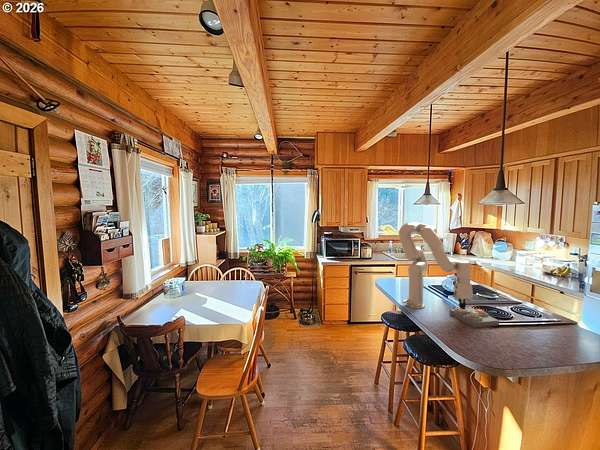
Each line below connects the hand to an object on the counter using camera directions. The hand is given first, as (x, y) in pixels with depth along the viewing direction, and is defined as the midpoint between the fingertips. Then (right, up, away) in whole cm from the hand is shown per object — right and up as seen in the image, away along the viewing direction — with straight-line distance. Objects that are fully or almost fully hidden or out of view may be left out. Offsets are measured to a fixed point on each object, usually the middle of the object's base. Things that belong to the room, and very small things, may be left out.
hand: (462, 308), depth 173 cm
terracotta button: (+9, -3, -3) cm, 10 cm away
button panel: (+4, -6, -4) cm, 8 cm away
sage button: (+1, -2, -10) cm, 10 cm away
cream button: (0, -2, 0) cm, 2 cm away
